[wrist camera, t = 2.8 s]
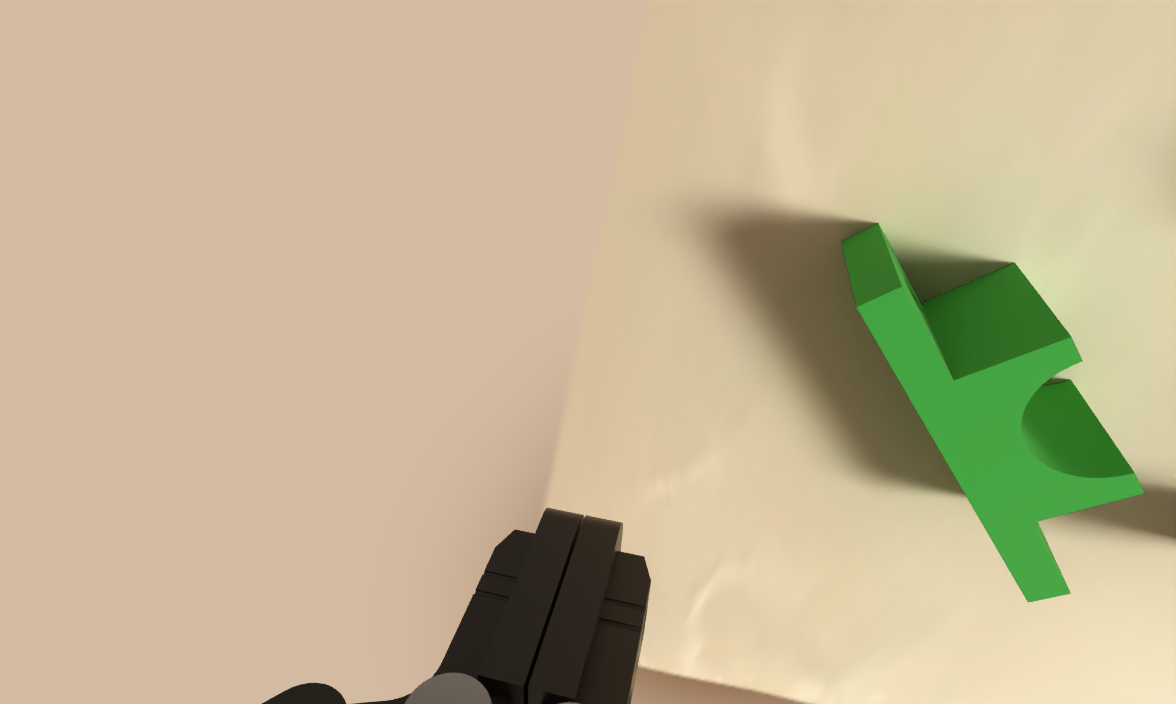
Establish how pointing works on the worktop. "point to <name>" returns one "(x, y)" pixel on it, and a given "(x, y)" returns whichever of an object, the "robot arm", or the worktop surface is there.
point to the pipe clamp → (994, 401)
